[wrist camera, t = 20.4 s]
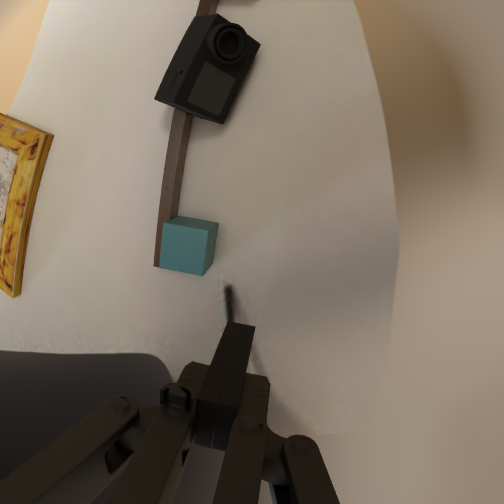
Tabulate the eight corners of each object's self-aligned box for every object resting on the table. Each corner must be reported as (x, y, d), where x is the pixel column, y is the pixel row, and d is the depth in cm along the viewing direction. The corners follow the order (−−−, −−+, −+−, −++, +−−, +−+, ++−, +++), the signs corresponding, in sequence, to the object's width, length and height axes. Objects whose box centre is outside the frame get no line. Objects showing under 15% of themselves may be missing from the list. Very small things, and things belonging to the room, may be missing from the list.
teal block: (218, 222, 38) (208, 230, 33) (212, 263, 39) (202, 276, 34) (178, 215, 38) (163, 222, 33) (173, 255, 39) (159, 267, 34)
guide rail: (230, -41, 29) (227, -51, 26) (171, 263, 39) (165, 268, 37) (219, -41, 29) (216, -51, 26) (160, 260, 39) (153, 266, 37)
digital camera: (230, 128, 32) (178, 105, 26) (201, 119, 35) (152, 99, 29) (269, 44, 29) (225, 11, 23) (236, 43, 32) (193, 16, 27)
